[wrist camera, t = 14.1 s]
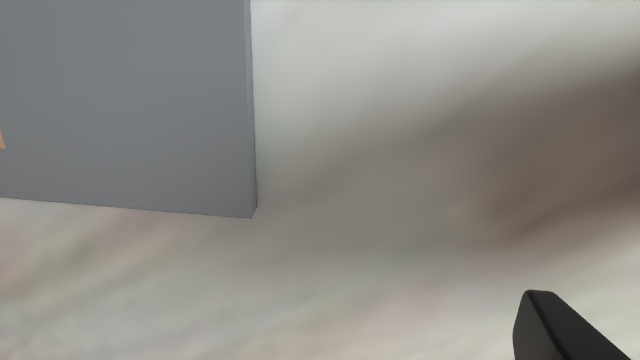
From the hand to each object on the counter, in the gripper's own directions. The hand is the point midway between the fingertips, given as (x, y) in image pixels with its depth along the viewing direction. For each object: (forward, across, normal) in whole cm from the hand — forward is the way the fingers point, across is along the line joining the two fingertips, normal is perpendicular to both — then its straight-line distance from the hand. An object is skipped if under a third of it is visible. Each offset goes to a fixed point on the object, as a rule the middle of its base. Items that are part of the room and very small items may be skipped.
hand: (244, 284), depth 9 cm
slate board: (+13, +12, +1) cm, 18 cm away
